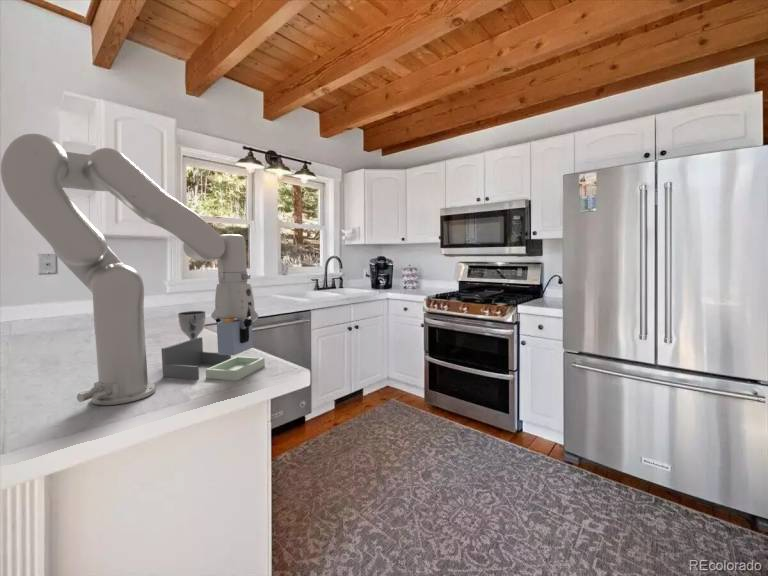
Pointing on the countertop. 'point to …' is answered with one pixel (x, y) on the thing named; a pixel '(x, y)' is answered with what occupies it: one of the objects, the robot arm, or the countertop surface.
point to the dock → (188, 359)
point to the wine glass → (192, 323)
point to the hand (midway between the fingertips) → (235, 341)
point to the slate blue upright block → (232, 337)
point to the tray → (235, 368)
